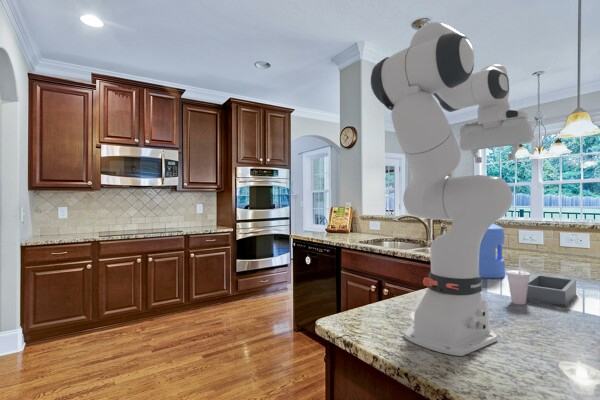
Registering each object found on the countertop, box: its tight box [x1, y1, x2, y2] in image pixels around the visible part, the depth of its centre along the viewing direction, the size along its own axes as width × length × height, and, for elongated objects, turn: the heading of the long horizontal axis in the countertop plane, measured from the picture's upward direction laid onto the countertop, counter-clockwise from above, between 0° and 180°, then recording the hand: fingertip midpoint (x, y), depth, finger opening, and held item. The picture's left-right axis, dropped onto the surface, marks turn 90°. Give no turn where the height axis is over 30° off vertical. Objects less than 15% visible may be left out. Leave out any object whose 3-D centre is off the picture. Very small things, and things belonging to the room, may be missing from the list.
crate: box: [526, 274, 577, 309], centre depth 105 cm, size 20×11×5 cm, turn 132°
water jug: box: [479, 223, 506, 279], centre depth 138 cm, size 16×16×28 cm
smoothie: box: [505, 258, 531, 305], centre depth 100 cm, size 6×6×14 cm
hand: (494, 161), depth 101 cm, fingers open, 8 cm apart
